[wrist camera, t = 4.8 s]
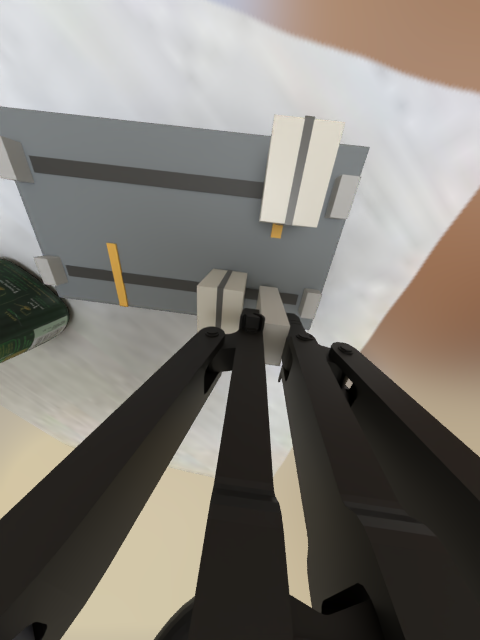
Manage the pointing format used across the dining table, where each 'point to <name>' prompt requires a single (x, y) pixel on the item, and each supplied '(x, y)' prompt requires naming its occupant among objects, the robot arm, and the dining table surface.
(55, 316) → the coffee jar
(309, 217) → the fader
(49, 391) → the dining table surface
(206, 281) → the fader
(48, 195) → the console
